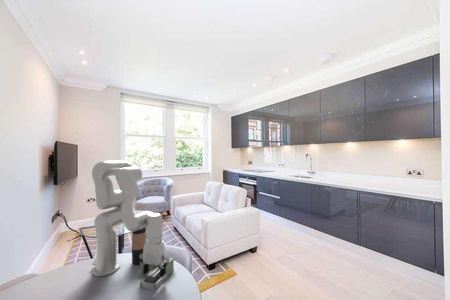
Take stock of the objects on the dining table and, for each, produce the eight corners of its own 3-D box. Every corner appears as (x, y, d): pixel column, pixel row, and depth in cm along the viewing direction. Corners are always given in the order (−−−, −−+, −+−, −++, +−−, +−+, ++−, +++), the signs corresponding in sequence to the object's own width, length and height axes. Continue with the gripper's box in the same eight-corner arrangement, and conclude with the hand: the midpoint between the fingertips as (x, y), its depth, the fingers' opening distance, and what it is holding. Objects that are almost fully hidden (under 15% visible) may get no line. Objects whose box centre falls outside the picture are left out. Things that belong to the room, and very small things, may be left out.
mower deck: (126, 283, 91) (126, 265, 91) (148, 265, 107) (148, 249, 107) (155, 289, 87) (155, 269, 87) (173, 269, 102) (173, 252, 103)
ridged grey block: (145, 285, 90) (145, 275, 90) (154, 276, 97) (154, 266, 97) (153, 287, 89) (154, 276, 89) (162, 277, 96) (162, 267, 96)
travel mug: (140, 266, 106) (140, 230, 107) (128, 265, 107) (128, 229, 108) (148, 259, 113) (148, 225, 114) (137, 258, 115) (137, 225, 116)
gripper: (134, 240, 92) (134, 276, 92) (165, 244, 88) (165, 281, 87) (144, 234, 99) (144, 267, 99) (173, 237, 95) (173, 272, 94)
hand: (154, 274), depth 93 cm, fingers open, 9 cm apart
